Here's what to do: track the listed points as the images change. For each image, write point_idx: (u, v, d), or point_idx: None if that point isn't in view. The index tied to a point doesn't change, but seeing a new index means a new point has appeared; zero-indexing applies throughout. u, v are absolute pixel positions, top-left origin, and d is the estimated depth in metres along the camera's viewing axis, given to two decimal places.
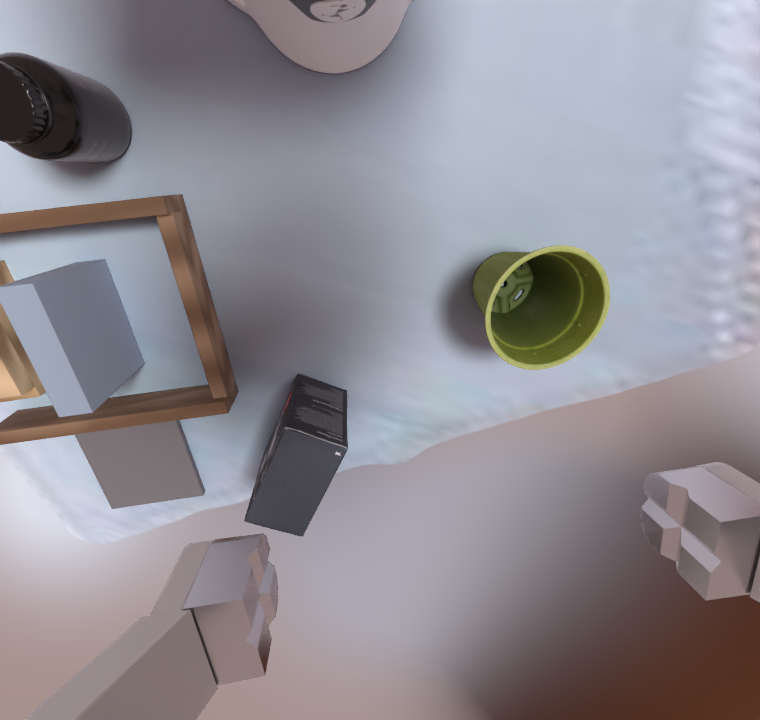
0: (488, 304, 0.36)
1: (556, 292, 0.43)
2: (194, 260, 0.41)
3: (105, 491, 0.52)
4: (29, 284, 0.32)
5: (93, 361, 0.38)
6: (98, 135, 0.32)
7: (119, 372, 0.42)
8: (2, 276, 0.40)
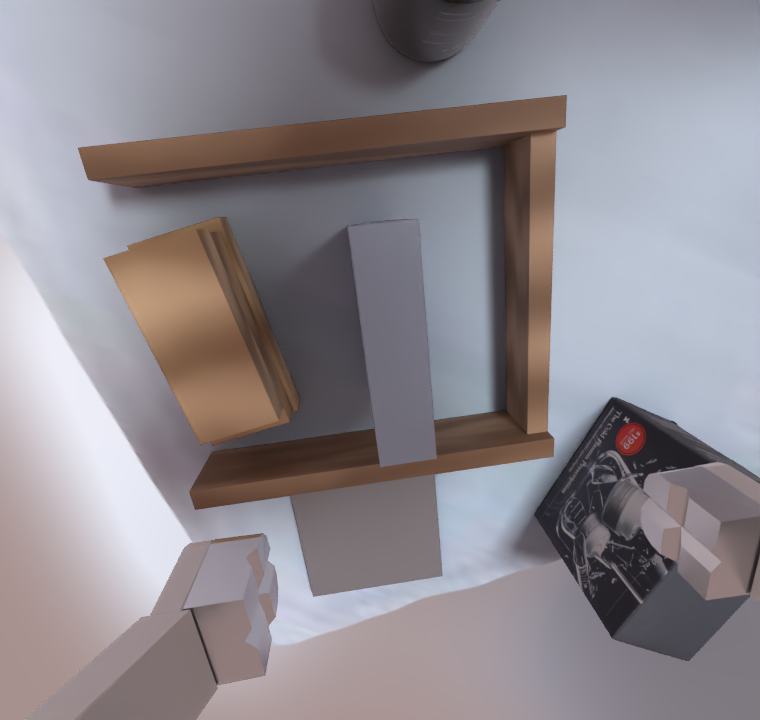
0: None
1: None
2: None
3: (310, 571, 0.36)
4: (411, 221, 0.17)
5: None
6: None
7: None
8: (230, 239, 0.26)
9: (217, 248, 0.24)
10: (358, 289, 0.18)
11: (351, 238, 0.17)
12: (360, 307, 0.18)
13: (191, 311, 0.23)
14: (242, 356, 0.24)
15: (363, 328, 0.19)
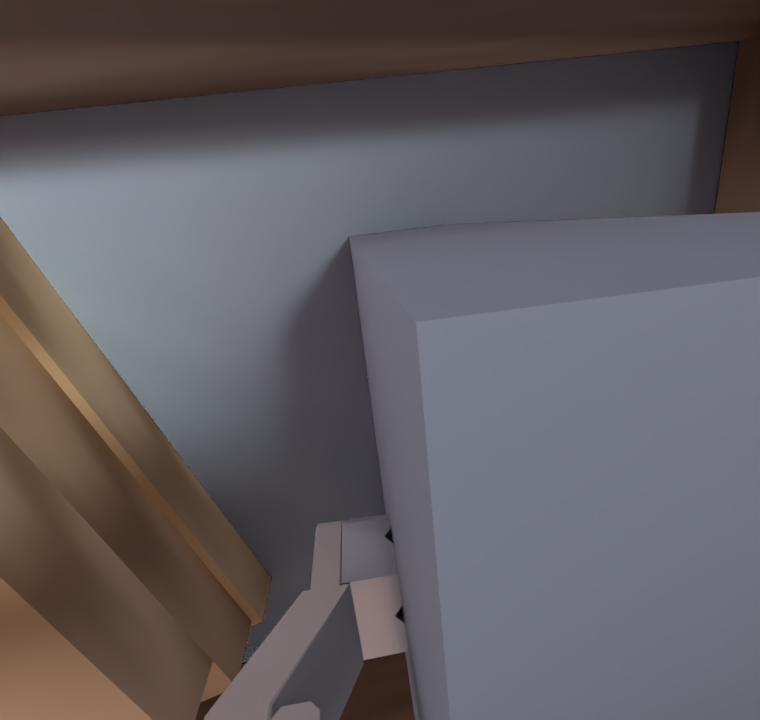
0: None
1: None
2: None
3: None
4: None
5: None
6: None
7: None
8: (3, 269, 0.10)
9: None
10: None
11: (448, 483, 0.01)
12: None
13: None
14: (23, 629, 0.08)
15: None
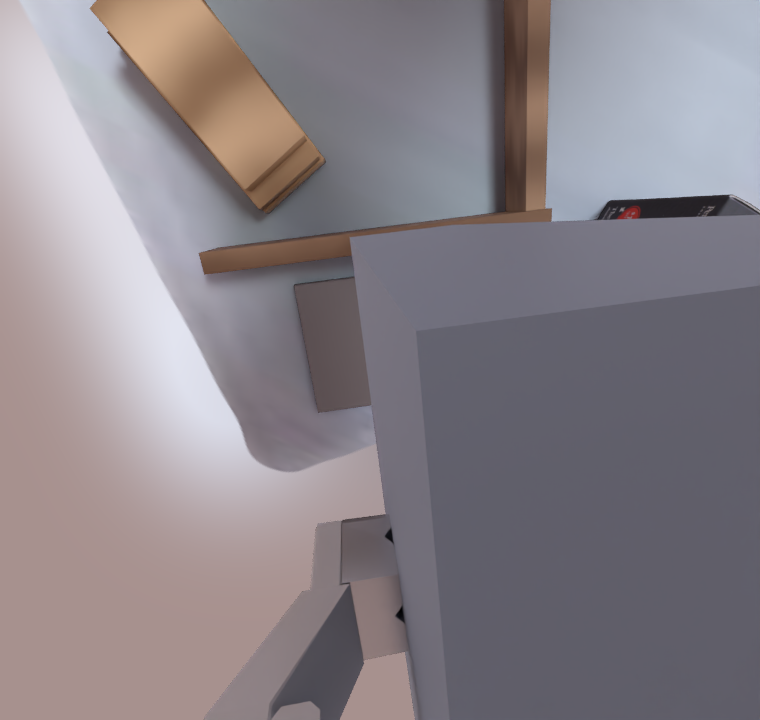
0: None
1: None
2: None
3: (315, 383, 0.37)
4: None
5: None
6: None
7: None
8: None
9: None
10: None
11: (449, 493, 0.01)
12: None
13: (183, 37, 0.23)
14: (246, 72, 0.24)
15: None
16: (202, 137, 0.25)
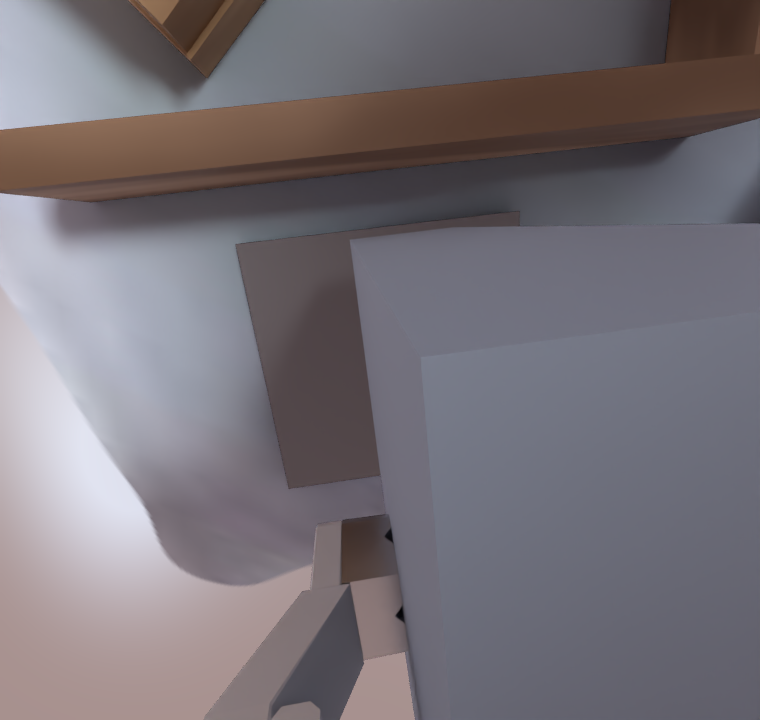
0: None
1: None
2: None
3: (282, 436, 0.19)
4: None
5: None
6: None
7: None
8: None
9: None
10: None
11: (453, 517, 0.01)
12: None
13: None
14: None
15: None
16: None
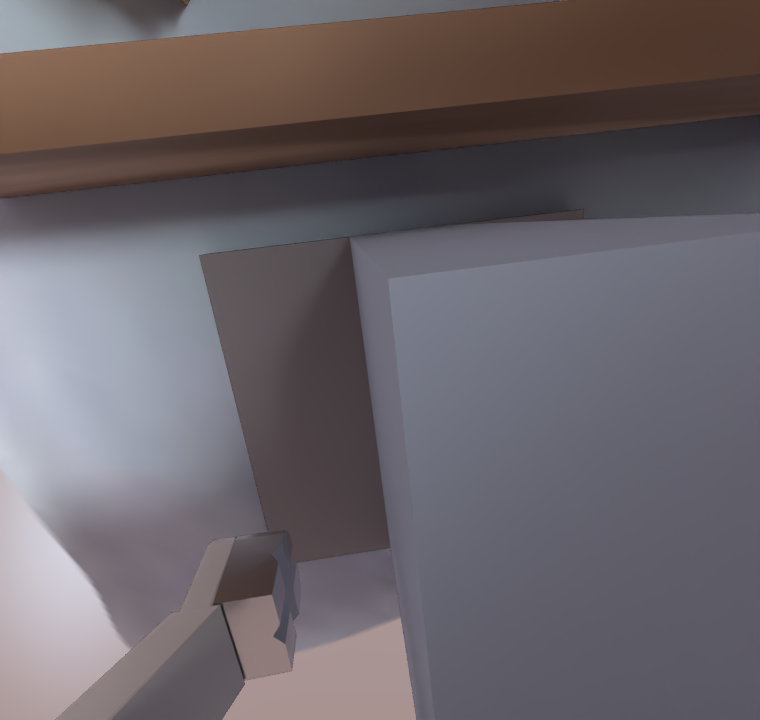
0: None
1: None
2: None
3: (267, 503, 0.15)
4: None
5: None
6: None
7: None
8: None
9: None
10: (439, 671, 0.03)
11: (408, 371, 0.02)
12: None
13: None
14: None
15: None
16: None
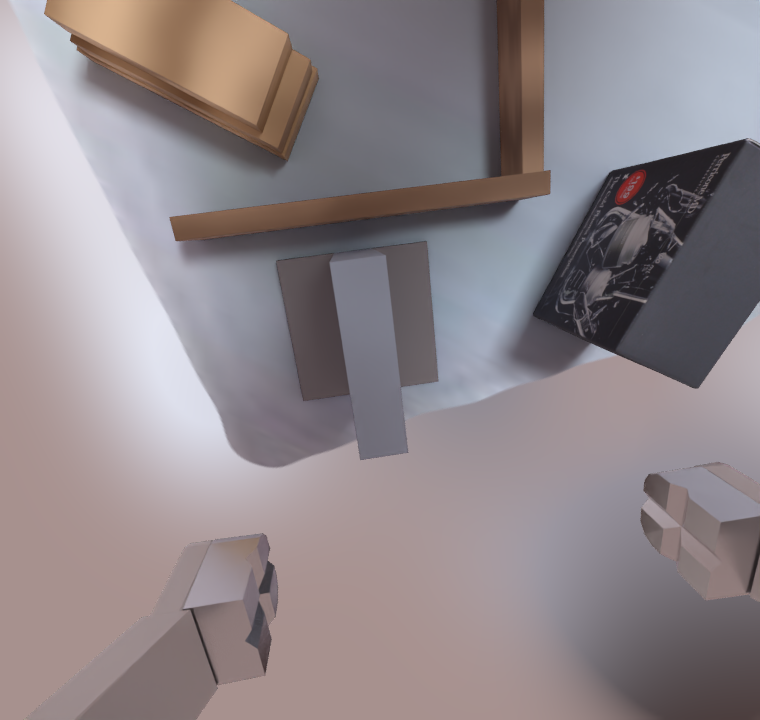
0: None
1: None
2: None
3: (300, 369, 0.34)
4: (380, 256, 0.21)
5: None
6: None
7: None
8: None
9: None
10: (338, 311, 0.22)
11: (331, 271, 0.21)
12: (340, 326, 0.22)
13: None
14: None
15: (343, 343, 0.23)
16: (194, 90, 0.24)
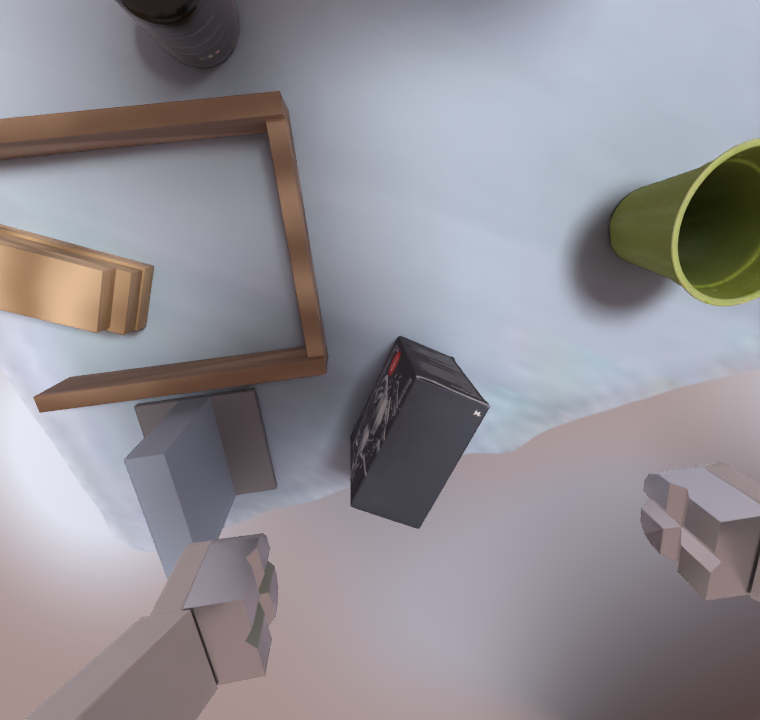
0: (679, 214, 0.29)
1: (723, 225, 0.36)
2: (298, 185, 0.35)
3: None
4: (160, 454, 0.31)
5: (203, 515, 0.36)
6: (216, 7, 0.27)
7: (220, 516, 0.40)
8: None
9: None
10: (135, 489, 0.31)
11: (126, 465, 0.31)
12: (138, 497, 0.32)
13: None
14: (38, 260, 0.31)
15: (142, 508, 0.32)
16: (46, 319, 0.33)
